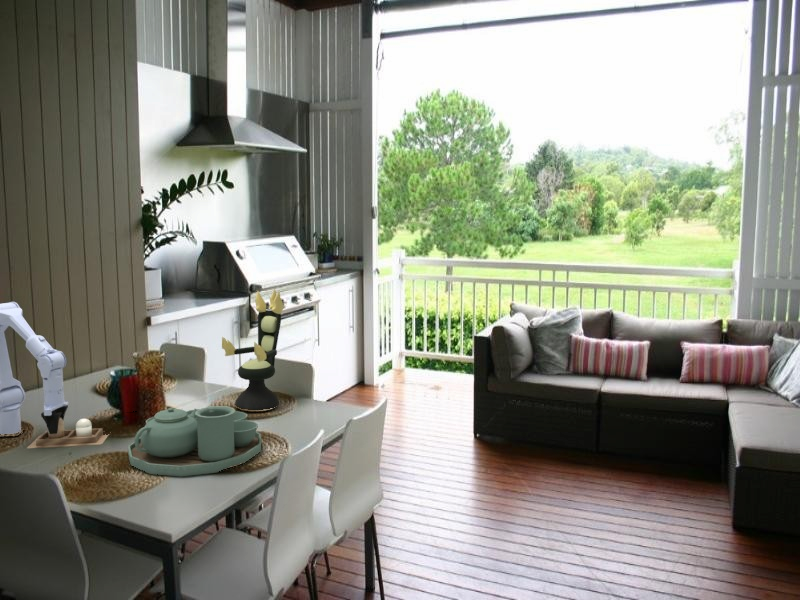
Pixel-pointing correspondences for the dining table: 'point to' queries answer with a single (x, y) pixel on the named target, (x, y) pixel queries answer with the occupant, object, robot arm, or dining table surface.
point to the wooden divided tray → (69, 439)
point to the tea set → (194, 441)
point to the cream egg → (83, 428)
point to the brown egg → (60, 430)
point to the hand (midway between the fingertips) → (55, 431)
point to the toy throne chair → (260, 356)
